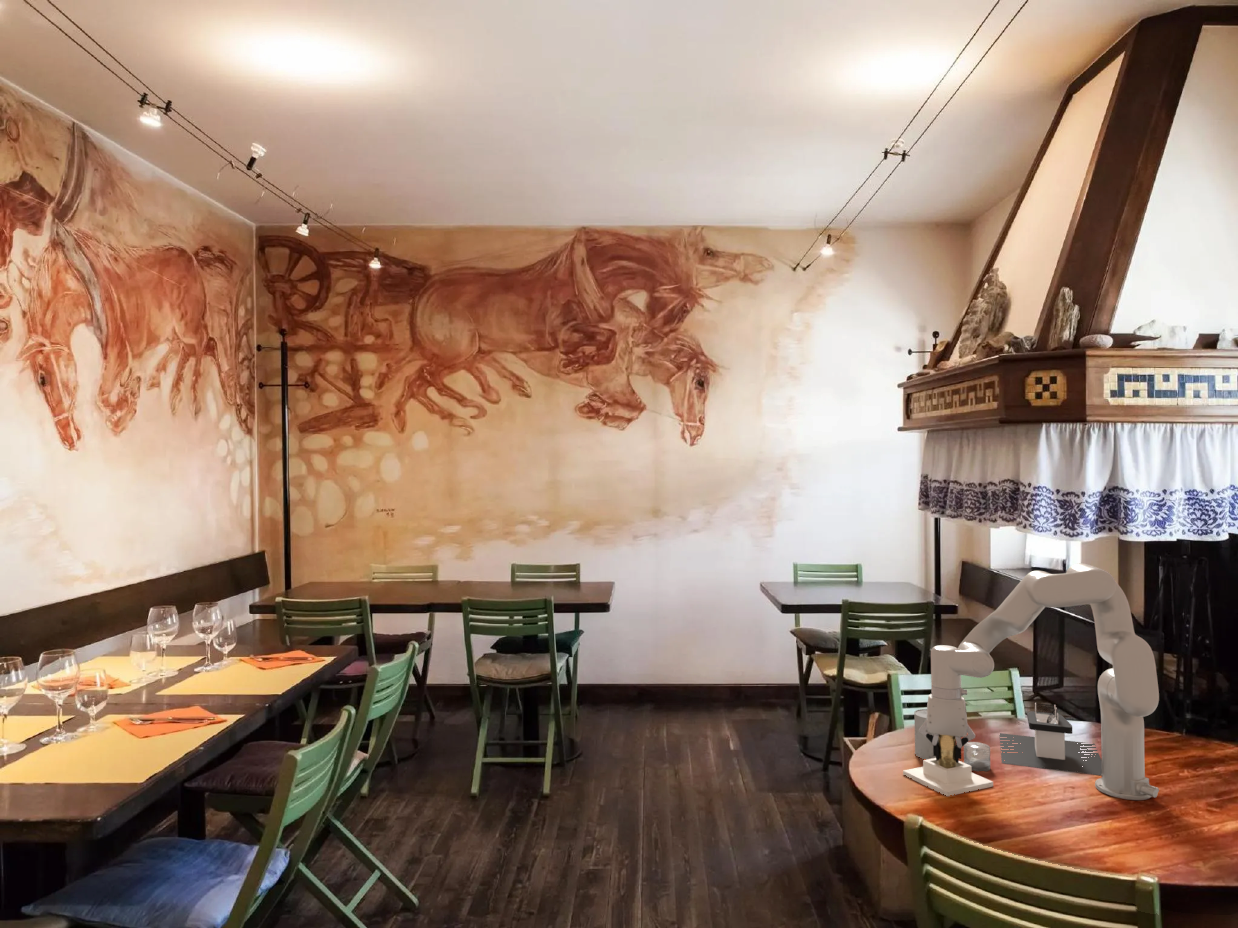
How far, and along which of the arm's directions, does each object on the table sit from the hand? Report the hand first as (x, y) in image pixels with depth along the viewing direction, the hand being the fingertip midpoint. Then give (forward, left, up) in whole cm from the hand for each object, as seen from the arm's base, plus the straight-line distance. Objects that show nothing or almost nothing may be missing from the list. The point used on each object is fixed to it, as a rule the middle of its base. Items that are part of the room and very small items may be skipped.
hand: (947, 759), depth 218 cm
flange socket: (0, 0, -6) cm, 6 cm away
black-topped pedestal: (+3, -43, -6) cm, 43 cm away
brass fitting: (0, 0, -2) cm, 2 cm away
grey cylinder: (+16, -10, -6) cm, 20 cm away
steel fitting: (+4, -15, -6) cm, 17 cm away
